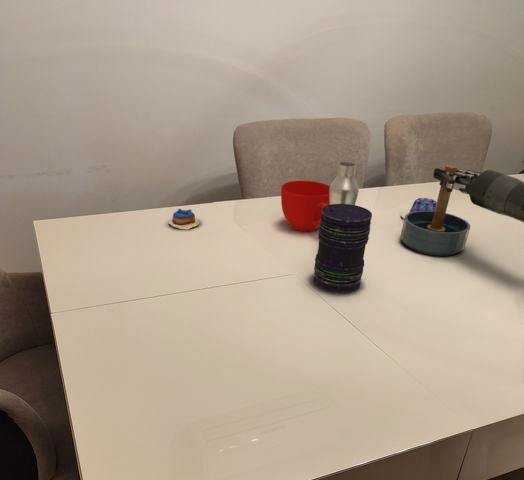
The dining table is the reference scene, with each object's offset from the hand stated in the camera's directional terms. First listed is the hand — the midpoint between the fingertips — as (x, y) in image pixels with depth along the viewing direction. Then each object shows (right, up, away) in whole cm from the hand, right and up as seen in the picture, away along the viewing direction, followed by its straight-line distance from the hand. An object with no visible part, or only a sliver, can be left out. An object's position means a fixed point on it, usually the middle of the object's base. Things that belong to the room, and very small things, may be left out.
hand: (440, 172), depth 117 cm
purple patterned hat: (+2, -6, +21) cm, 22 cm away
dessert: (-62, -10, +10) cm, 63 cm away
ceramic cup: (-30, -11, +11) cm, 34 cm away
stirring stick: (+1, -13, +6) cm, 14 cm away
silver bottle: (-25, -19, -1) cm, 31 cm away
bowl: (0, -16, +6) cm, 17 cm away
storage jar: (-26, -28, -13) cm, 41 cm away
